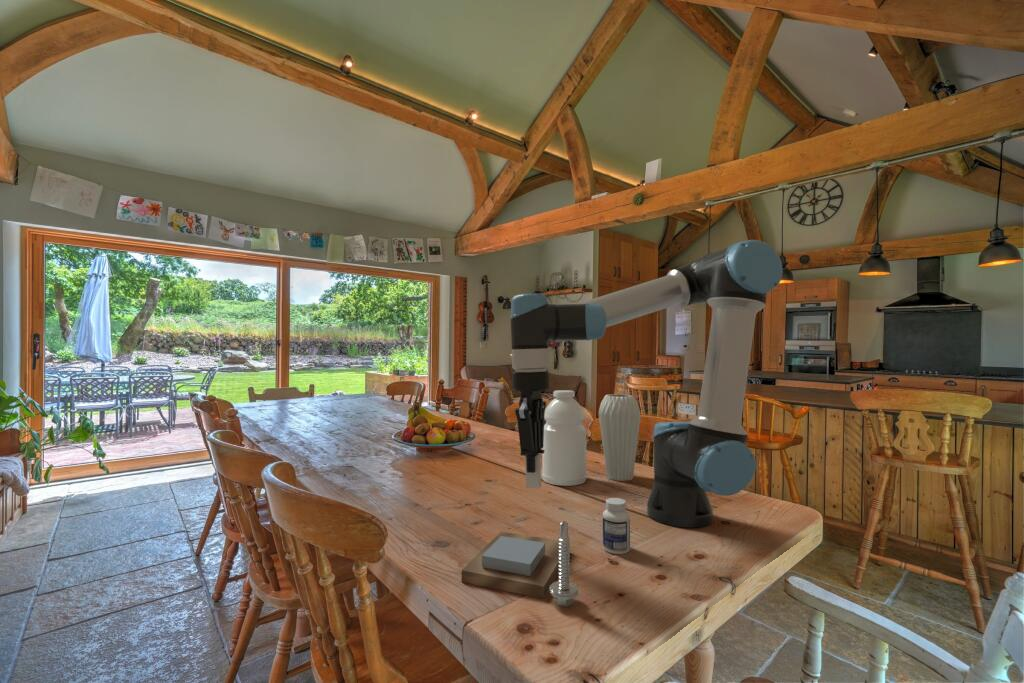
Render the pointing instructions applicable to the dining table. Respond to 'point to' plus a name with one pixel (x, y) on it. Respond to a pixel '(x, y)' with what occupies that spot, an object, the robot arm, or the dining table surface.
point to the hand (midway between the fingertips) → (533, 486)
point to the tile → (514, 555)
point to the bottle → (564, 441)
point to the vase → (619, 434)
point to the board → (515, 582)
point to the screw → (564, 572)
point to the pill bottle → (616, 527)
